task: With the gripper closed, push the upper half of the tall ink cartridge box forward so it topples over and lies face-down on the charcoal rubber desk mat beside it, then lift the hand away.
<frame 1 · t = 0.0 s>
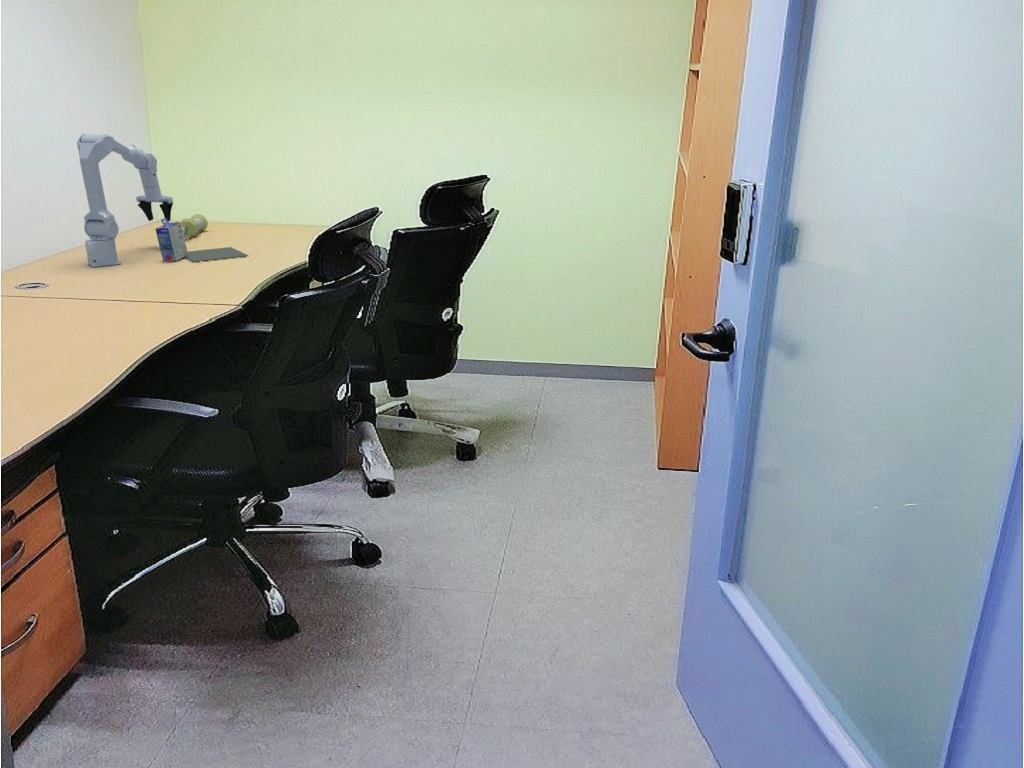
hand: (159, 220, 319), 11 cm above the table, tool pointing down, fingers open, 7 cm apart
desk mat: (212, 255, 310), on the table
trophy: (190, 237, 346), on the table
ink cartridge box: (175, 259, 302), on the table, touching desk mat
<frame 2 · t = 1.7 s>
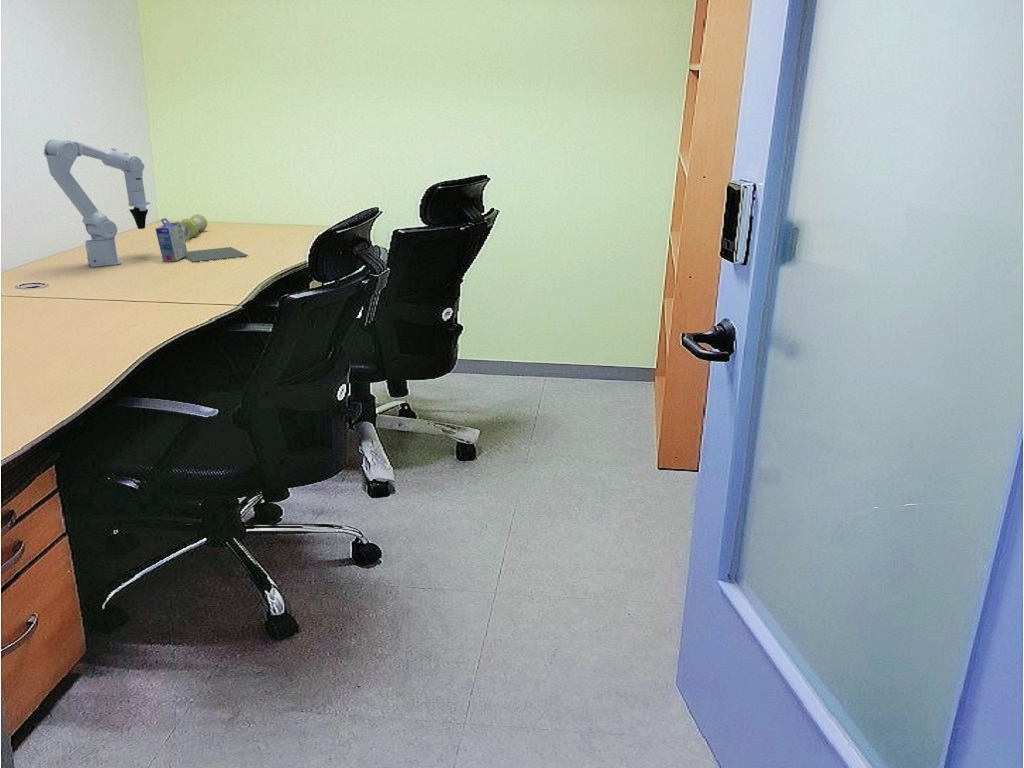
hand: (141, 228, 302), 10 cm above the table, tool pointing down, fingers closed
nothing on the table moved.
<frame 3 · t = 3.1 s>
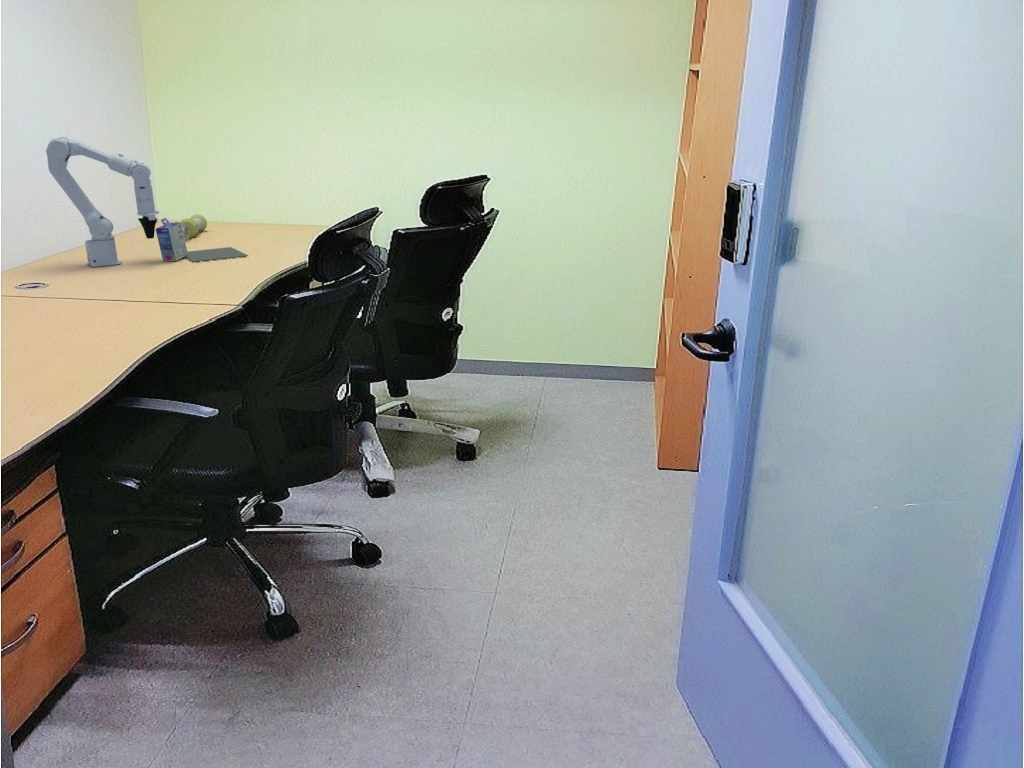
hand: (150, 238, 295), 8 cm above the table, tool pointing down, fingers closed
ink cartridge box: (175, 259, 302), on the table, touching desk mat, gripper
everything else where it was.
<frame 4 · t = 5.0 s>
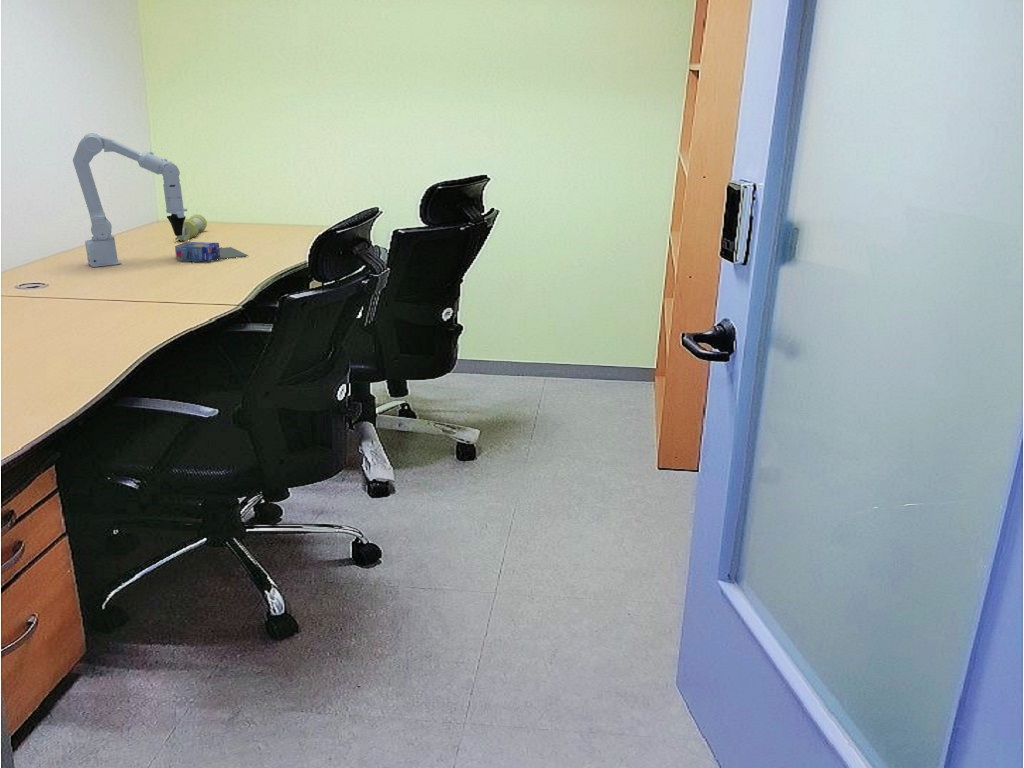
hand: (178, 235, 300), 8 cm above the table, tool pointing down, fingers closed
ink cartridge box: (181, 250, 301), point 3 cm above the table, touching desk mat
everything else where it was.
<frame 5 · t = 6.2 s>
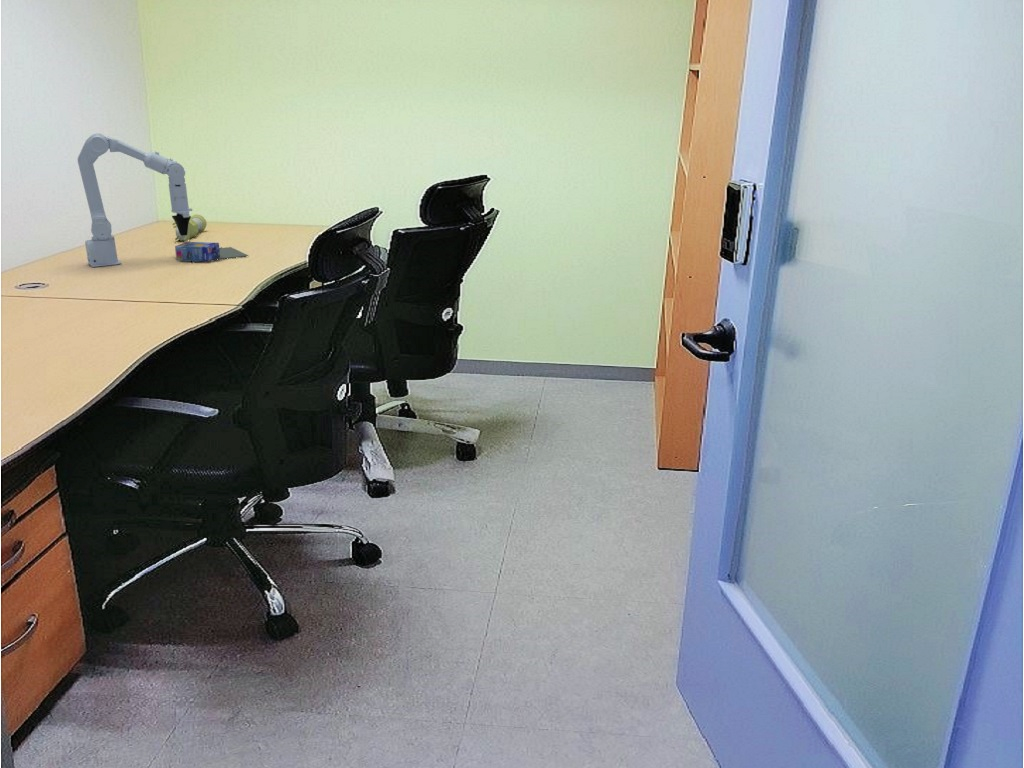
hand: (183, 235, 301), 8 cm above the table, tool pointing down, fingers closed
nothing on the table moved.
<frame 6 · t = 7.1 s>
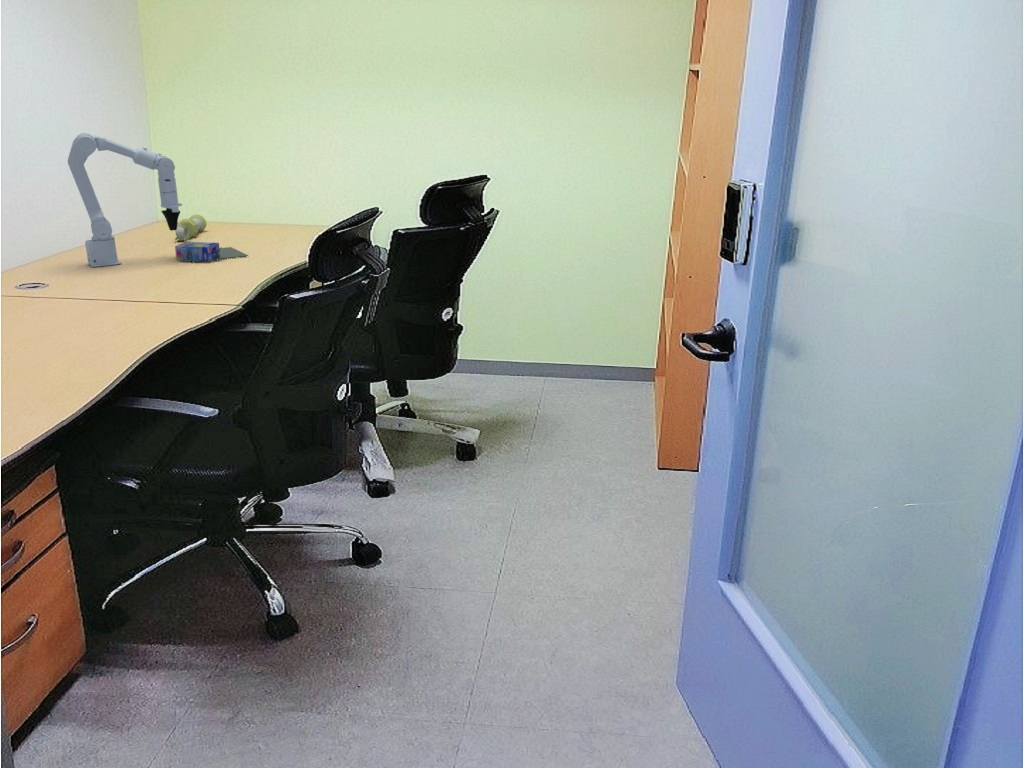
hand: (173, 230, 300), 10 cm above the table, tool pointing down, fingers closed
nothing on the table moved.
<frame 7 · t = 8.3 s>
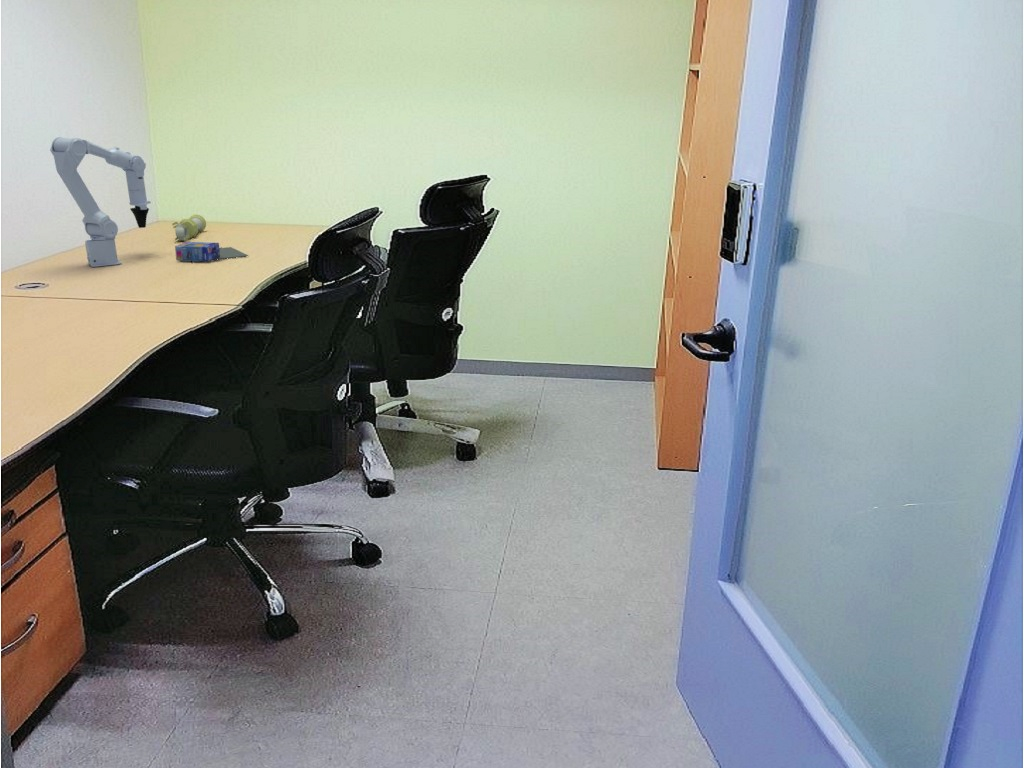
hand: (142, 227, 305), 10 cm above the table, tool pointing down, fingers closed
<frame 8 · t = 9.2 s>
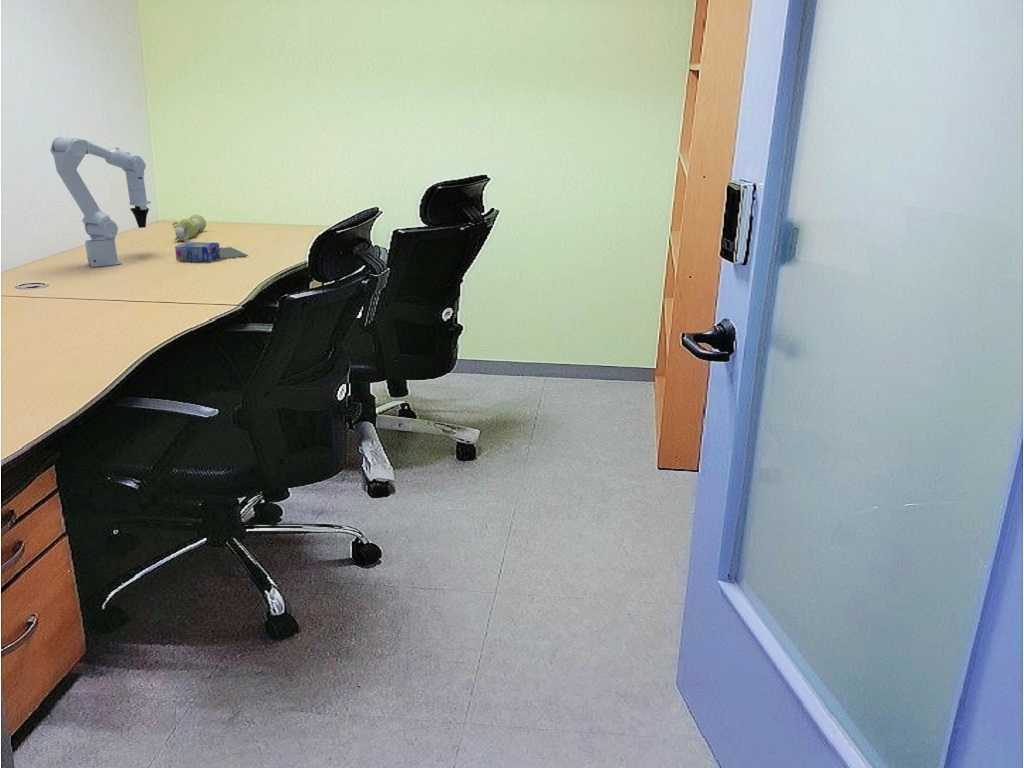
hand: (142, 227, 305), 10 cm above the table, tool pointing down, fingers closed
at the end: ink cartridge box tilted 92°; ink cartridge box touching desk mat; ink cartridge box inside the target area (7.2 cm from its centre), point 3.3 cm above the table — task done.
